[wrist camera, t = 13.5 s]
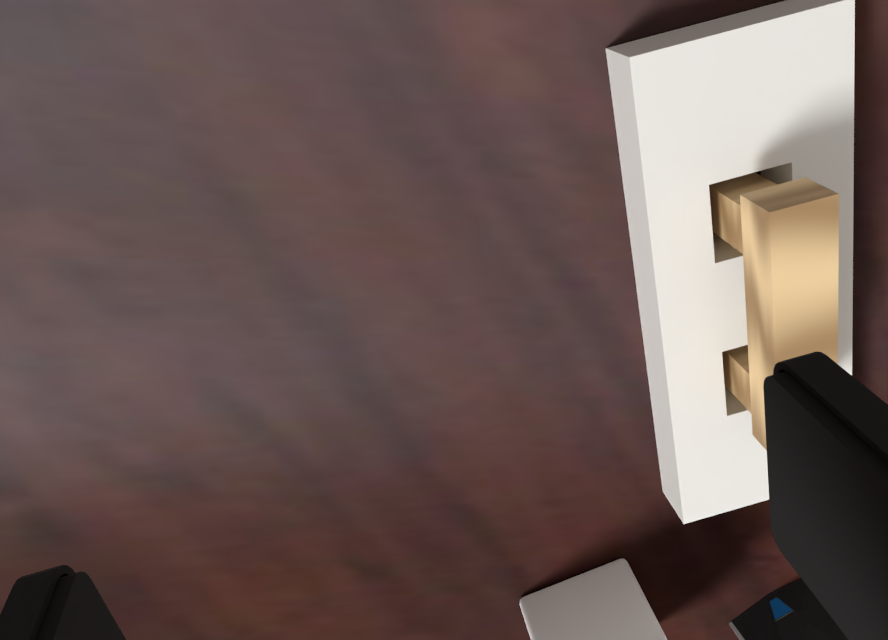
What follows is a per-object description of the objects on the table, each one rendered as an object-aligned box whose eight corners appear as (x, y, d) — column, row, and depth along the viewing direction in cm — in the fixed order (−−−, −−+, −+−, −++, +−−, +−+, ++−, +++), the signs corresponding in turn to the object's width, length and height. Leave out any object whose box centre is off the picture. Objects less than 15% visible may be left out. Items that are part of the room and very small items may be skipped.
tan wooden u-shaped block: (691, 164, 40) (769, 212, 33) (749, 149, 40) (838, 193, 33) (708, 385, 46) (778, 463, 39) (759, 371, 46) (837, 446, 39)
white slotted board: (605, 48, 37) (629, 57, 34) (815, -8, 37) (855, -3, 34) (662, 491, 48) (683, 524, 46) (821, 445, 49) (851, 475, 46)
